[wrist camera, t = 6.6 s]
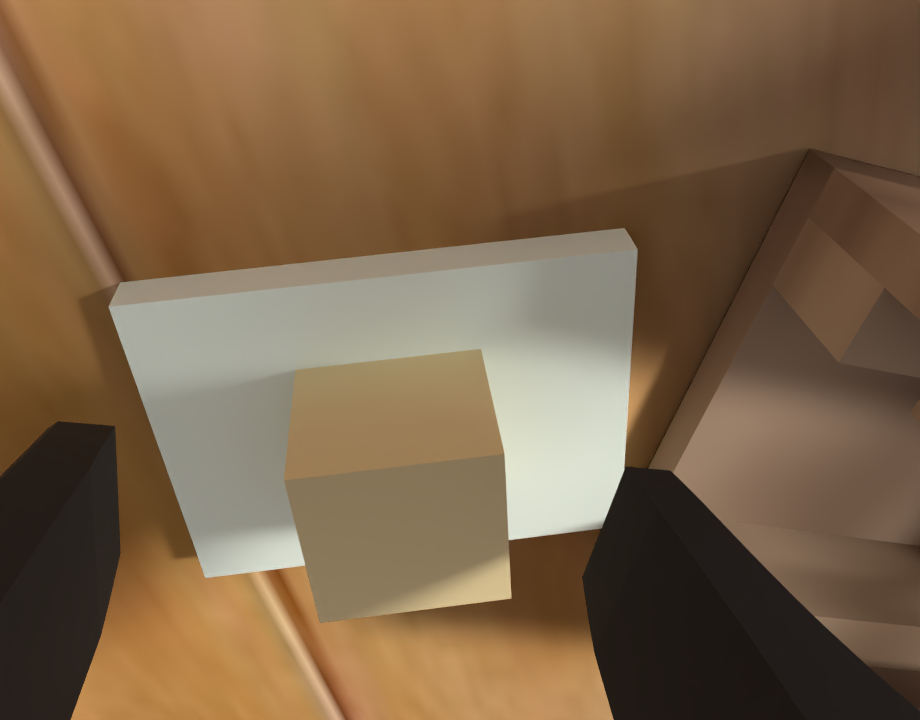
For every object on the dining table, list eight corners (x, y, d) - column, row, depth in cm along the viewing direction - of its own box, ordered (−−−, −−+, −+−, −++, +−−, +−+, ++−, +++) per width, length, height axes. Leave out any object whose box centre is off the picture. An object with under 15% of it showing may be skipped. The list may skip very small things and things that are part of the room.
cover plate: (617, 216, 14) (694, 341, 11) (605, 483, 17) (660, 637, 14) (127, 268, 13) (57, 414, 10) (214, 531, 17) (182, 701, 14)
